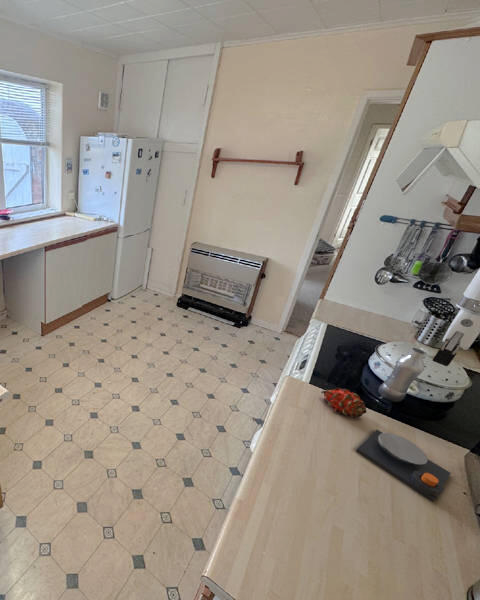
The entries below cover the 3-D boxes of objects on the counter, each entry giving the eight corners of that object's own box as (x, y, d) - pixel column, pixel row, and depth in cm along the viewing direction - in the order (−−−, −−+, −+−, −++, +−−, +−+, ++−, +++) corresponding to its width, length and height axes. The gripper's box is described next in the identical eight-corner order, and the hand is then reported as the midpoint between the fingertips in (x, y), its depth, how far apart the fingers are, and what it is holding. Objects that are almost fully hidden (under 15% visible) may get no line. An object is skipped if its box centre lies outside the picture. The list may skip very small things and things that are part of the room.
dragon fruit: (360, 428, 100) (316, 409, 109) (371, 406, 102) (327, 389, 111) (362, 417, 95) (315, 397, 104) (373, 394, 97) (326, 377, 106)
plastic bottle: (376, 388, 116) (405, 342, 107) (401, 398, 112) (433, 352, 103) (374, 396, 112) (404, 349, 103) (400, 407, 108) (433, 359, 99)
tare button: (436, 484, 79) (440, 479, 78) (432, 489, 78) (437, 484, 77) (422, 475, 81) (426, 470, 80) (418, 480, 80) (422, 475, 79)
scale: (448, 478, 85) (455, 469, 83) (431, 505, 78) (440, 496, 76) (373, 433, 97) (379, 425, 95) (354, 453, 90) (359, 444, 88)
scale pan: (430, 456, 86) (432, 454, 86) (419, 472, 81) (420, 470, 81) (385, 429, 94) (386, 427, 93) (371, 443, 89) (373, 441, 88)
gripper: (496, 318, 77) (452, 378, 85) (506, 305, 84) (464, 362, 92) (452, 305, 82) (415, 363, 90) (465, 294, 90) (429, 348, 98)
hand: (440, 362), depth 91 cm, fingers closed
